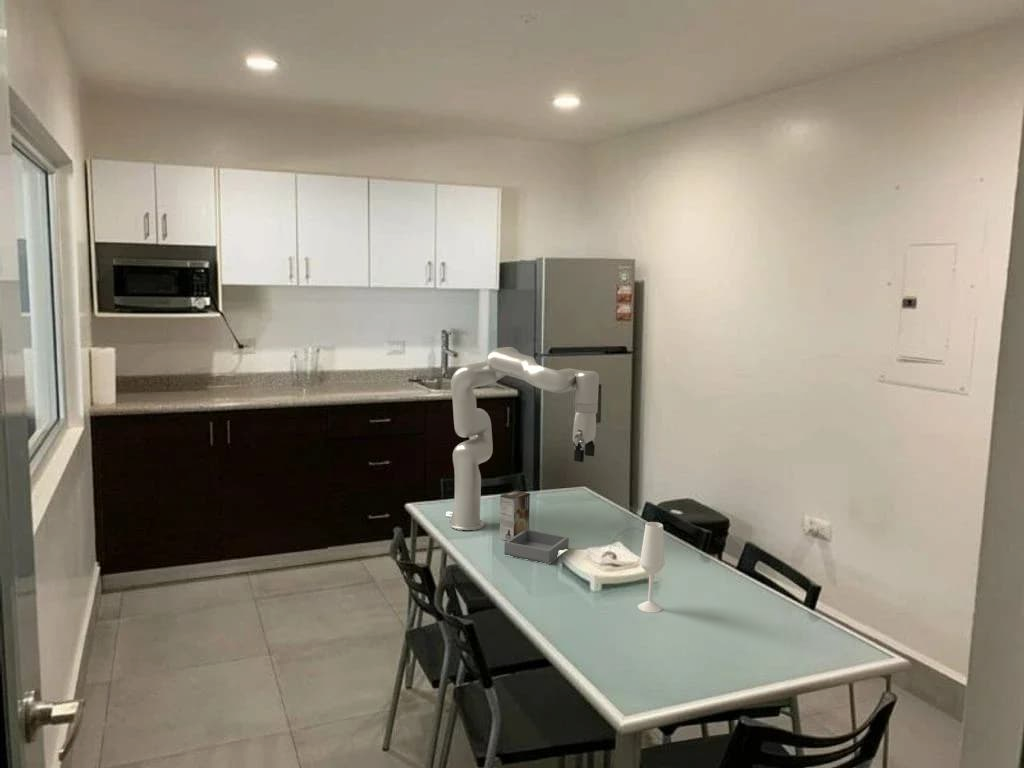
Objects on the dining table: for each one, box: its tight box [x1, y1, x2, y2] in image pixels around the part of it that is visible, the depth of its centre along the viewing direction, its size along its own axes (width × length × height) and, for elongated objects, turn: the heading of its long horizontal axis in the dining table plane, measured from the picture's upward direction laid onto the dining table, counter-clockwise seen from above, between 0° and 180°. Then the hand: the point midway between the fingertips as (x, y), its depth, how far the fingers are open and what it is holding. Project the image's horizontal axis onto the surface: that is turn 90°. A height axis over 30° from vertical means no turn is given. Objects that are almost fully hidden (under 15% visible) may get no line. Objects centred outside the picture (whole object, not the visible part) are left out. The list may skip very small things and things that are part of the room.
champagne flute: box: [637, 521, 666, 613], centre depth 214 cm, size 7×7×24 cm
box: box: [503, 528, 570, 565], centre depth 257 cm, size 16×16×4 cm
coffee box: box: [499, 489, 531, 541], centre depth 270 cm, size 9×6×16 cm
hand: (584, 458), depth 259 cm, fingers open, 9 cm apart
